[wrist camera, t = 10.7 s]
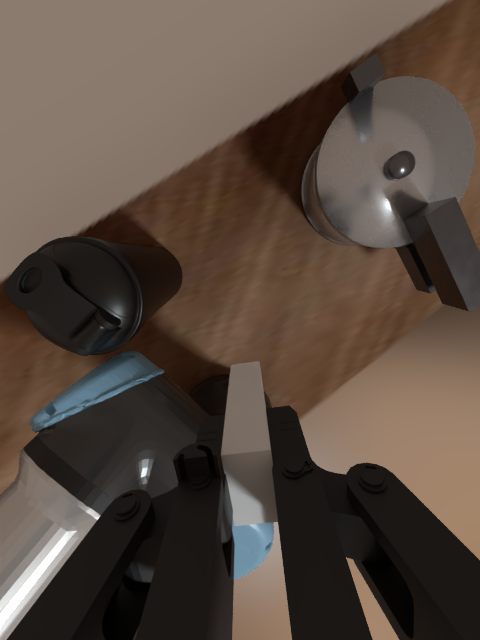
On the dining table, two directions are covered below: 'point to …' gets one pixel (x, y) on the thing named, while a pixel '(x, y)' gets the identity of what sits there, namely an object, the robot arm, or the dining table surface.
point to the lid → (403, 175)
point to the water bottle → (93, 291)
